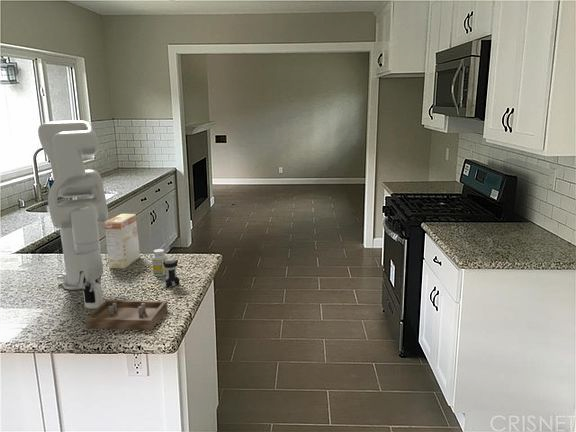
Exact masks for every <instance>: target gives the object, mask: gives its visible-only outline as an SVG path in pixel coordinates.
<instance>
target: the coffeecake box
mask: <svg viewBox="0 0 576 432" xmlns="http://www.w3.org/2000/svg"><path fill="white" fill-rule="evenodd" d="M137 221H138V220H137V213H120V214H118V215H116V216H114V217H112V218H110V219H107V220H106V221H105V222H103V223H104V230H105V240H106V247H107V248H106V249H107V251H106V252H107V258H108V267H109V269H126V268H127V267H129V266H131V264H132V263H134V262H135V261H137V260H138V259H140V258H141V253H140V244H139V243H140V242H139V234H138V233H139V232H138V225H137V224H138V223H137Z"/></svg>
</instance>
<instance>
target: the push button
mask: <svg viewBox="0 0 576 432" xmlns="http://www.w3.org/2000/svg"><path fill="white" fill-rule="evenodd" d="M178 263H179V260H177V259H176V258H175V257H166V259H165V261H164V262H163V264H164V267H166V275H165V276H166V277H165V279H164V282H163V283H160V284H161V287H167V288H171V287H176V286H179V285H180V278H179V277H178V275H177V266H178Z"/></svg>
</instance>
